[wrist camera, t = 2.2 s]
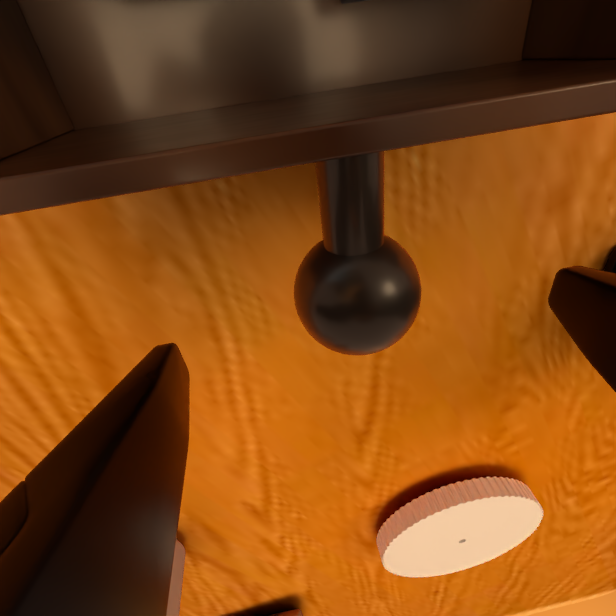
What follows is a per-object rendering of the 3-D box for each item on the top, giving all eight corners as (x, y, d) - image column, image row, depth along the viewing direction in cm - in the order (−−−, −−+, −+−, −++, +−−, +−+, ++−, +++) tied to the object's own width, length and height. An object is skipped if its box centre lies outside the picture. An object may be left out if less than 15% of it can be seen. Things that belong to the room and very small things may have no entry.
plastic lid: (346, 546, 33) (353, 578, 31) (427, 456, 27) (443, 489, 25) (462, 548, 38) (475, 576, 36) (555, 472, 31) (578, 501, 29)
